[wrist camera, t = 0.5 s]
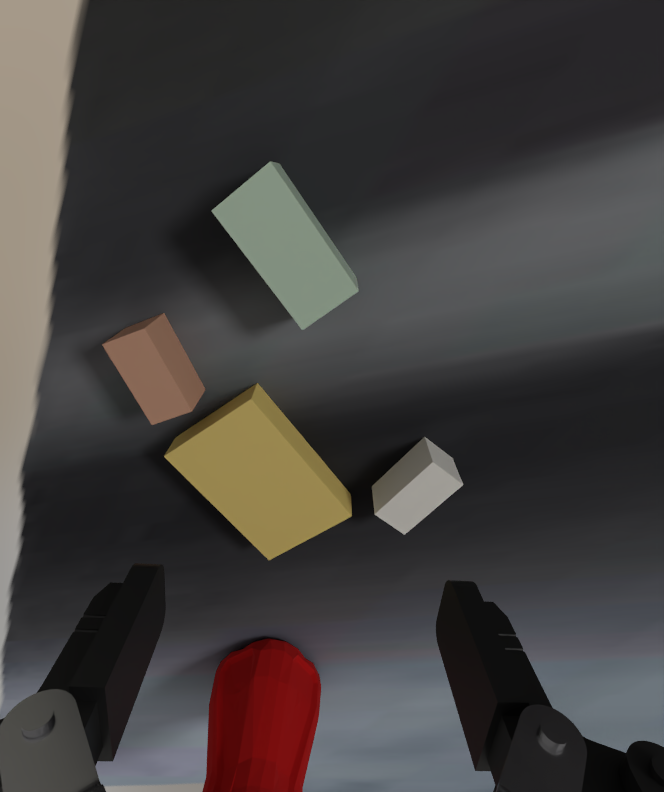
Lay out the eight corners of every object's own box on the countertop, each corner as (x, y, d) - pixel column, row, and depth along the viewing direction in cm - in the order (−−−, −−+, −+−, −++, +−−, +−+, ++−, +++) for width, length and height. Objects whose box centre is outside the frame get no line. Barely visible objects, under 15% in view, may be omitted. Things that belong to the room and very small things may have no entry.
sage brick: (279, 163, 26) (270, 161, 23) (356, 277, 29) (359, 291, 26) (227, 206, 28) (211, 210, 24) (306, 312, 30) (302, 330, 27)
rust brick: (126, 327, 31) (101, 344, 28) (164, 312, 30) (144, 328, 27) (169, 401, 33) (151, 425, 30) (206, 388, 33) (191, 411, 30)
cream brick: (424, 435, 34) (432, 461, 31) (452, 457, 35) (463, 484, 32) (371, 485, 36) (374, 514, 33) (398, 504, 37) (404, 534, 34)
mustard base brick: (258, 380, 33) (251, 398, 30) (350, 491, 37) (351, 516, 34) (177, 434, 35) (163, 456, 32) (273, 533, 39) (268, 560, 36)
